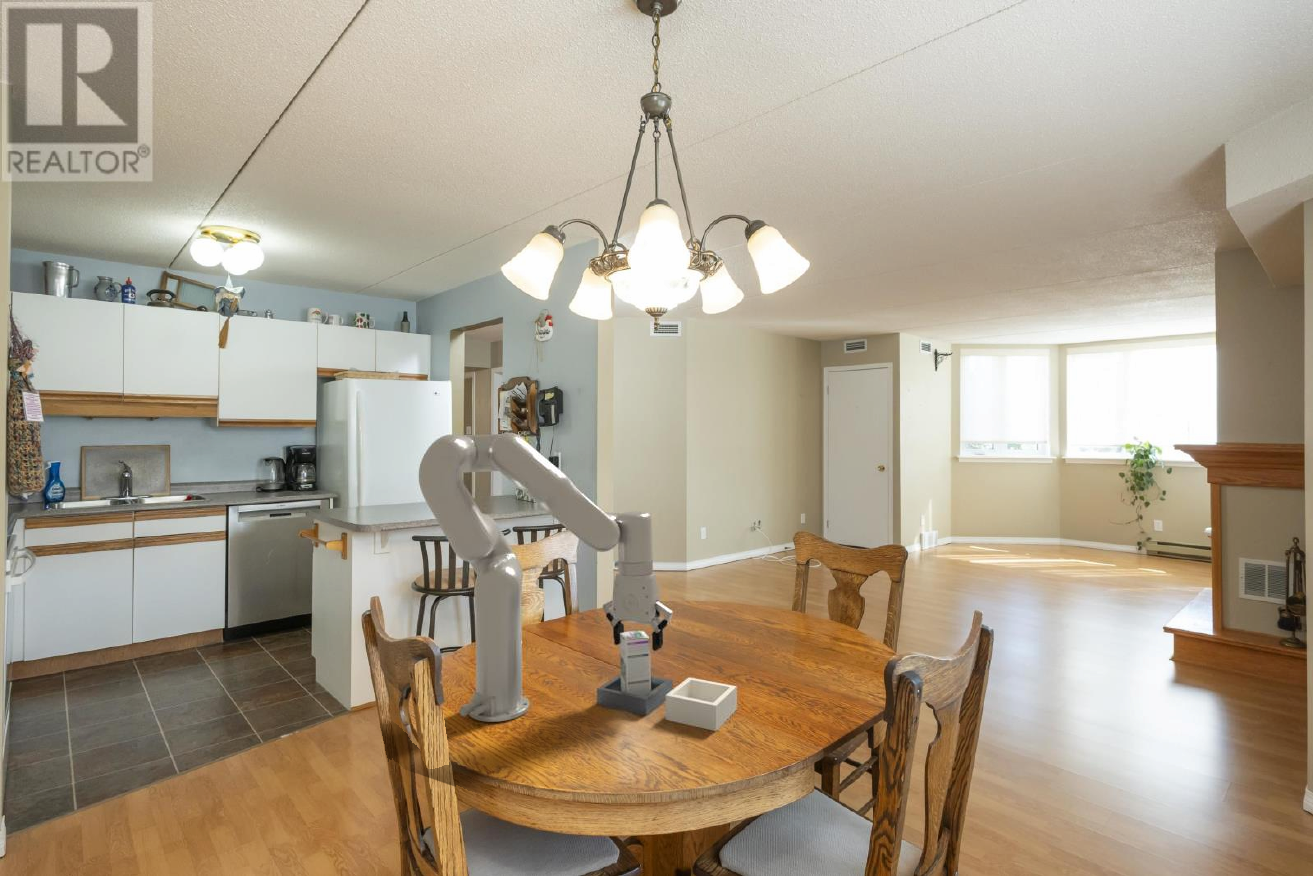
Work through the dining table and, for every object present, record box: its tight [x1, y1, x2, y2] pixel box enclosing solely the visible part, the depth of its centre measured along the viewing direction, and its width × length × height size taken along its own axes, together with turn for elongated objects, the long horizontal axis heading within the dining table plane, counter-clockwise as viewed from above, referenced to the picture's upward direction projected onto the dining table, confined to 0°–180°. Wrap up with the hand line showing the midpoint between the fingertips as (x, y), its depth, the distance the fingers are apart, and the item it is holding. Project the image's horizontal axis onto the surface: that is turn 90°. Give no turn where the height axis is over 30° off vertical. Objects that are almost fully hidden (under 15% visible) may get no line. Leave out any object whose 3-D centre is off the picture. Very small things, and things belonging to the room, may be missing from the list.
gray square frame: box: [596, 673, 674, 717], centre depth 142 cm, size 12×12×4 cm
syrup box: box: [619, 630, 652, 696], centre depth 142 cm, size 6×6×14 cm
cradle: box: [665, 677, 738, 732], centre depth 134 cm, size 11×11×5 cm
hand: (638, 646), depth 142 cm, fingers open, 9 cm apart
